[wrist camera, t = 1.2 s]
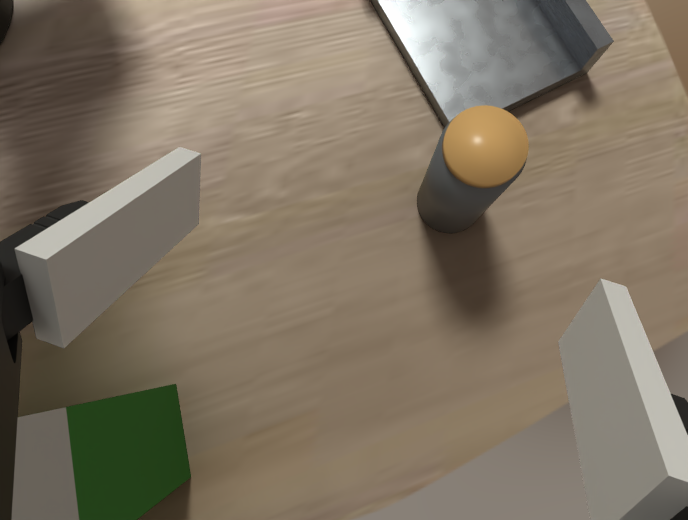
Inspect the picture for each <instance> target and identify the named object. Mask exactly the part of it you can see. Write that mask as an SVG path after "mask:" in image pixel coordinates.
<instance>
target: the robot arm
mask: <svg viewBox="0 0 688 520" xmlns="http://www.w3.org/2000/svg"><path fill="white" fill-rule="evenodd" d="M11 15H12V0H0V43H1V41H2V40H3V38H4V36H5V34H6V32H7V29H8V27H9V24H10V20H11ZM200 167H201V153H198V152H194V151H191V150H188V149H185V148H182V147H178V148H177V149H175V150H174V151H172V152H170V153H169V154H167V155H165V156H164V157H162V158H161V159H159V160H157V161H156V162H154V163H152V164H151V165H149V166H148V167H146V168H144V169H143V170H141V171H140V172H138V173H136V174H135V175H133V176H131V177H130V178H128V179H127V180H125V181H123V182H122V183H120V184H118V185H117V186H115V187H114V188H112V189H110V190H109V191H107V192H105V193H104V194H102V195H101V196H99V197H97V198H96V199H94V200H93V201H91V202H86V201H83V200H81V201H77V202H74V203H70V204H67V205H63V206H61V207H59V208H57V209H56V210H54V211H52V212H50V213H49V214H47V216H46V217H42V218H40V219H38V220H37V221H35V222H34V224H30V225H28V226H27V227H25V228H23V229H21V230H20V231H18V232H16V233H15V234H13V235H11V236H9V237H8V238H6V239H4V240H3V241H1V242H0V520H11V519H12V502H13V486H14V469H15V452H16V436H17V419H18V402H19V386H20V369H21V352H22V338H21V335H20V331H21V330H22V329H23V328H24V327H26V326H27V325H28V324H29V323H31V322H33V327H34V331H35V335H36V338H37V339H39V340H42V341H45V342H48V343H50V344H53V345H56V346H58V347H61V348H65V347H66V346H67V345H68V344H69V343H70V342H72V341H73V340H74V339H75V338H76V337H77V336H78V335H79V334H80V333H81V332H82V331H83V330H85V329H86V328H87V327H88V326H89V325H90V324H91V323H92V322H93V321H94V320H95V319H96V318H98V317H99V316H100V315H101V314H102V313H103V312H104V311H105V310H106V309H107V308H108V307H109V306H111V305H112V304H113V303H114V302H115V301H116V300H117V299H118V298H119V297H120V296H121V295H122V294H124V293H125V292H126V291H127V290H128V289H129V288H130V287H131V286H132V285H133V284H134V283H135V282H137V281H138V280H139V279H140V278H141V277H142V276H143V275H144V274H145V273H146V272H147V271H148V270H149V269H151V268H152V267H153V266H154V265H155V264H156V263H157V262H158V261H159V260H160V259H161V258H162V257H164V256H165V255H166V254H167V253H168V252H169V251H170V250H171V249H172V248H173V247H174V246H175V245H177V244H178V243H179V242H180V241H181V240H182V239H183V238H184V237H185V236H186V235H187V234H188V233H190V232H191V231H192V230H193V229H194V228H195V227H196V226H197V225H198V224H199V199H200ZM558 343H559V349H560V354H561V360H562V365H563V371H564V377H565V382H566V388H567V393H568V399H569V404H570V410H571V416H572V421H573V427H574V432H575V438H576V444H577V449H578V454H579V460H580V466H581V471H582V477H583V482H584V488H585V494H586V499H587V505H588V510H589V516H590V520H688V402H687V401H686V400H685V398H682V397H679V396H676V395H673V394H670V391H669V389H668V387H667V384H666V382H665V379H664V377H663V375H662V372H661V370H660V367H659V365H658V363H657V360H656V358H655V355H654V353H653V350H652V348H651V346H650V343H649V341H648V338H647V336H646V334H645V331H644V329H643V326H642V324H641V321H640V319H639V317H638V314H637V312H636V309H635V307H634V305H633V302H632V300H631V297H630V295H629V293H628V290H627V288H626V286H623V285H620V284H617V283H613V282H610V281H607V280H604V279H600V280H599V282H598V283H597V285H596V286H595V288H594V289H593V291H592V292H591V294H590V295H589V297H588V298H587V300H586V301H585V303H584V304H583V306H582V307H581V309H580V310H579V312H578V313H577V315H576V316H575V318H574V319H573V321H572V322H571V324H570V325H569V327H568V328H567V330H566V331H565V333H564V334H563V336H562V337H561V339H560V340H559V342H558Z"/></svg>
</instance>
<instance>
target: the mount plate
mask: <svg viewBox="0 0 688 520" xmlns="http://www.w3.org/2000/svg"><path fill="white" fill-rule="evenodd" d="M371 2H372V4H373V5H374V7H375V9H376V11H377V12H378V14H379V16H380V17H381V19H382V21H383V22H384V24H385V26H386V28H387V29H388V31H389V33H390V34H391V36H392V38H393V40H394V41H395V43H396V45H397V46H398V48H399V50H400V52H401V53H402V55H403V57H404V58H405V60H406V62H407V64H408V65H409V67H410V69H411V70H412V72H413V74H414V76H415V77H416V79H417V81H418V82H419V84H420V86H421V88H422V89H423V91H424V93H425V94H426V96H427V98H428V100H429V101H430V103H431V105H432V106H433V108H434V110H435V112H436V113H437V115H438V117H439V118H440V120H441V122H442V124H443V125H444V127H446V125H447V124H448V123H449V122H450V121H451V120H452V119H453V118H454V117H456V116H457V115H458V114H459V113H461V112H462V111H464V110H466V109H469V108H471V107H475V106H481V105H487V106H494V107H498V108H501V109H504V110H506V111H510V110H512V109H514V108H516V107H518V106H520V105H522V104H524V103H526V102H528V101H530V100H532V99H534V98H537V97H539V96H541V95H543V94H545V93H547V92H549V91H551V90H553V89H555V88H557V87H559V86H561V85H563V84H565V83H567V82H569V81H571V80H573V79H575V78H577V77H579V76H581V75H584V74H586V73H587V72H588V71H589V70H590V69H591V68H592V66H593V65H594V64H595V63H596V62H597V61H598V59H599V58H600V57H601V56H602V55H603V53H604V52H605V51H606V50H607V49H608V47H609V46H610V45H611V44H612V43H613V42H614V41H613V40H612V38H611V37H610V35H609V34H608V32H607V31H606V29H605V28H604V26H603V25H602V23H601V22H600V21H599V19H598V18H597V16H596V15H595V13H594V12H593V10H592V9H591V7H590V6H589V4H588V3H587V2H586V0H371Z"/></svg>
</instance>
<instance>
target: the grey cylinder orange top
mask: <svg viewBox="0 0 688 520" xmlns="http://www.w3.org/2000/svg"><path fill="white" fill-rule="evenodd" d="M528 147H529V145H528V138H527V134H526V132H525V129H524V128H523V126H522V124H521V123H520V122H519V121H518V119H517V118H516V117H514V116H513V115H512V114H511V113H509V112H508V111H506V110H504V109H501V108H498V107H494V106H487V105H481V106H475V107H471V108H469V109H466V110H464V111H462V112H461V113H459V114H458V115H457V116H456V117H454V118H453V119H452V120H451V121H450V122H449V123H448V124H447V125H446V127H445V128H444V130H443V132H442V134H441V137H440V139H439V142H438V144H437V147H436V149H435V152H434V154H433V157H432V159H431V162H430V164H429V167H428V169H427V172H426V174H425V177H424V179H423V182H422V184H421V187H420V189H419V192H418V195H417V207H418V211H419V213H420V215H421V217H422V219H423V220H424V221H425V222H426V223H427V224H428V225H429V226H430V227H432V228H433V229H435V230H437V231H440V232H444V233H456V232H460V231H463V230H465V229H467V228H469V227H470V226H471V225H472V224H473V223H474V222H475V221H476V220H477V219H478V218H479V217H480V216H481V215H482V214H483V213H484V212H485V211H486V210H487V209H488V208H489V206H490V205H491V204H492V203H493V202H494V201H495V200H496V199H497V198H498V197H499V196H500V195H501V194H502V193H503V192H504V191H505V190H506V189H507V188H508V187H509V186H510V184H511V183H512V182H513V181H514V180H515V179H516V178H517V177H518V176H519V175H520V173H521V172H522V170H523V168H524V166H525V163H526V159H527V155H528Z"/></svg>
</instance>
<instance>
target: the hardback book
mask: <svg viewBox="0 0 688 520" xmlns="http://www.w3.org/2000/svg"><path fill="white" fill-rule="evenodd" d="M190 477H191V474H190V468H189V461H188V455H187V449H186V443H185V436H184V430H183V424H182V418H181V411H180V405H179V399H178V393H177V386H176V384H173V385H168V386H164V387H159V388H154V389H150V390H145V391H140V392H135V393H131V394H126V395H121V396H116V397H112V398H107V399H102V400H98V401H93V402H88V403H83V404H79V405H74V406H69V407H65V408H60V409H55V410H50V411H46V412H41V413H36V414H31V415H27V416H22V417H18V419H17V436H16V452H15V469H14V486H13V502H12V519H11V520H137V519H138V518H140V517H141V516H142V515H143V514H145V513H146V512H147V511H148V510H150V509H151V508H152V507H153V506H155V505H156V504H157V503H159V502H160V501H161V500H162V499H164V498H165V497H166V496H167V495H169V494H170V493H171V492H173V491H174V490H175V489H176V488H178V487H179V486H180V485H181V484H183V483H184V482H185V481H186V480H188V479H189V478H190Z"/></svg>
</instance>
